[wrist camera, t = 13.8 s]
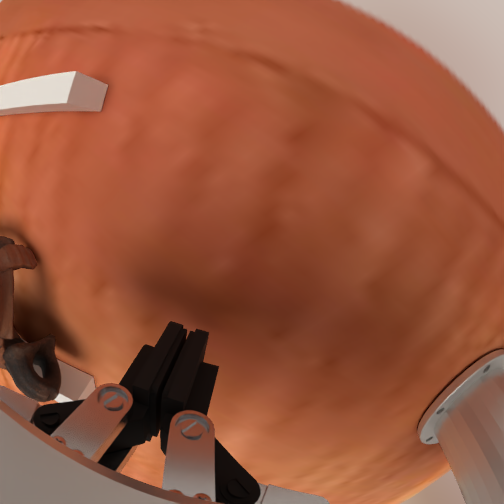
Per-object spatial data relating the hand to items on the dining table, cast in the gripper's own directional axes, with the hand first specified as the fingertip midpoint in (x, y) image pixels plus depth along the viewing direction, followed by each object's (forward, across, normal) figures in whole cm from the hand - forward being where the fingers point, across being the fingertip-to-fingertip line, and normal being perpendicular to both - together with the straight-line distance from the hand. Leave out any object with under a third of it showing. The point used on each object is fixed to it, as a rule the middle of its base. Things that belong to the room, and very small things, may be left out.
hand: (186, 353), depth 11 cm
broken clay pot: (+3, +13, +4) cm, 14 cm away
